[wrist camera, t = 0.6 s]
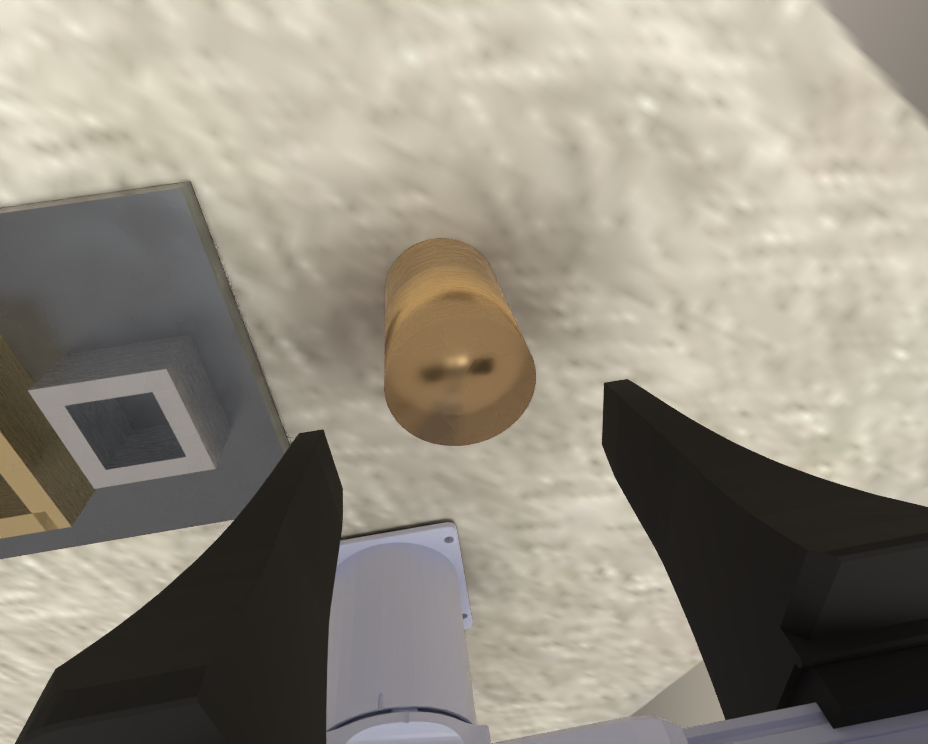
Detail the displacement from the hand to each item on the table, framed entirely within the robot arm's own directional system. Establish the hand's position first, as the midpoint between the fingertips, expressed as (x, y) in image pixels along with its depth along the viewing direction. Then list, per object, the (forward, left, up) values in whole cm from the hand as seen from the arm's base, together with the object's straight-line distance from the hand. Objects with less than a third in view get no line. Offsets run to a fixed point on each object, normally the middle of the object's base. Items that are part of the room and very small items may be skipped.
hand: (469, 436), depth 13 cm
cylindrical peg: (0, 0, -9) cm, 9 cm away
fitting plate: (-2, +16, -9) cm, 19 cm away
